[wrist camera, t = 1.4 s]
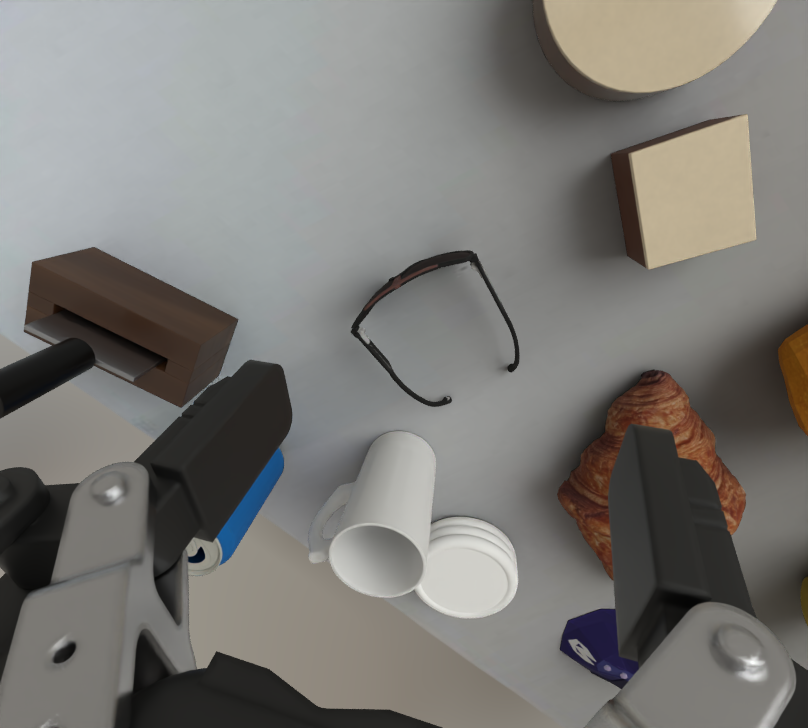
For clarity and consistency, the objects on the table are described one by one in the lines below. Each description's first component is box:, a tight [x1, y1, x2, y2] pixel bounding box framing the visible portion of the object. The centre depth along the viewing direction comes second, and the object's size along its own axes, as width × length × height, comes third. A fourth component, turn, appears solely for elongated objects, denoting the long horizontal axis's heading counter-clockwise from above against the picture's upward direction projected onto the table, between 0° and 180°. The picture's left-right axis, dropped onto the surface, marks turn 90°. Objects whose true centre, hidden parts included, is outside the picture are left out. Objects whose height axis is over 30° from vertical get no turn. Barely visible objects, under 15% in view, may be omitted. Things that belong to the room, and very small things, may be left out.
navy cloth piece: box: [560, 609, 639, 689], centre depth 46 cm, size 9×15×4 cm, turn 87°
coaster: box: [414, 517, 518, 619], centre depth 45 cm, size 10×10×4 cm
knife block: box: [24, 247, 238, 408], centre depth 38 cm, size 6×13×6 cm, turn 64°
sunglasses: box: [351, 251, 519, 407], centre depth 36 cm, size 11×12×5 cm
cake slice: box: [611, 114, 756, 269], centre depth 29 cm, size 7×6×4 cm
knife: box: [0, 309, 167, 418], centre depth 33 cm, size 8×2×16 cm, turn 64°
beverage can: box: [186, 447, 284, 576], centre depth 40 cm, size 6×6×12 cm
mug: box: [308, 431, 436, 598], centre depth 38 cm, size 10×7×12 cm, turn 108°
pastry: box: [557, 370, 746, 581], centre depth 37 cm, size 17×15×8 cm
